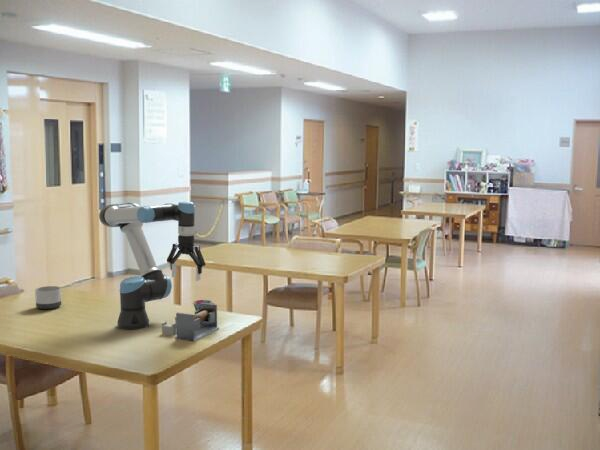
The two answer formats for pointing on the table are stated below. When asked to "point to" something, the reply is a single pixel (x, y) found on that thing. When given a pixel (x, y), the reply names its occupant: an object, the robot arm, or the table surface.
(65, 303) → the table surface
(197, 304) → the mug
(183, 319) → the brackets
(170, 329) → the rest blocks
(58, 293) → the planter
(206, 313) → the brown cylinder
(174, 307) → the table surface
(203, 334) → the wall board
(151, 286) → the robot arm
